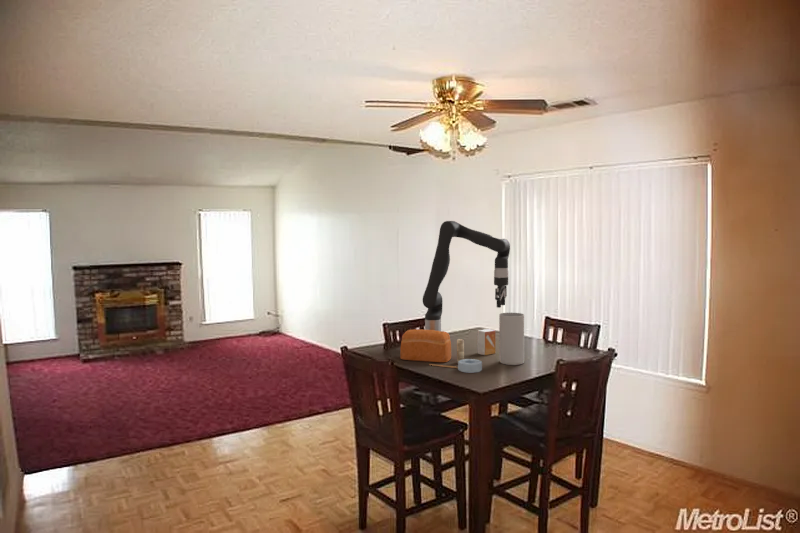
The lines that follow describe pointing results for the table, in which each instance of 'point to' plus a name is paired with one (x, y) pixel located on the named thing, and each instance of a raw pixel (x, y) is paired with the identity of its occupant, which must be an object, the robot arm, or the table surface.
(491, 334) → the small box
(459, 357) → the dowel
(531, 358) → the table surface
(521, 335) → the cylinder vase
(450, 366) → the wooden stick
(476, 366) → the bead
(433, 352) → the bread
